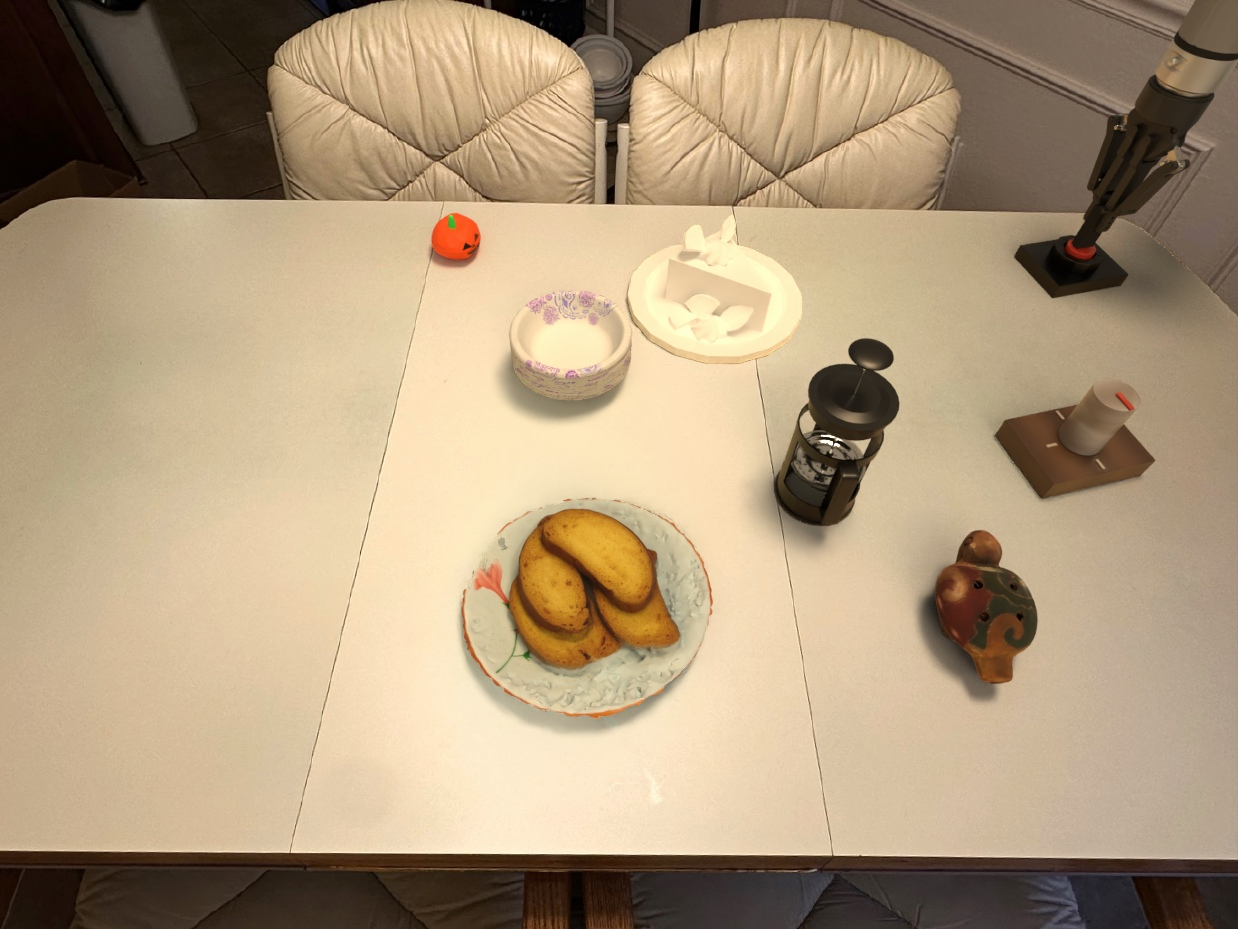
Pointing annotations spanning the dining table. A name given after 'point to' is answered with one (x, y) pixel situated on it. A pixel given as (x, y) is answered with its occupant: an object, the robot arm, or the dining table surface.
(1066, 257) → the button housing
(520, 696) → the food on plate
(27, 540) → the dining table surface
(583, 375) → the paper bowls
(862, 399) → the french press
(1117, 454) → the dial panel
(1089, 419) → the dial
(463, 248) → the pumpkin
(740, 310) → the dish
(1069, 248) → the push knob
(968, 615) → the painted clay ocarina
